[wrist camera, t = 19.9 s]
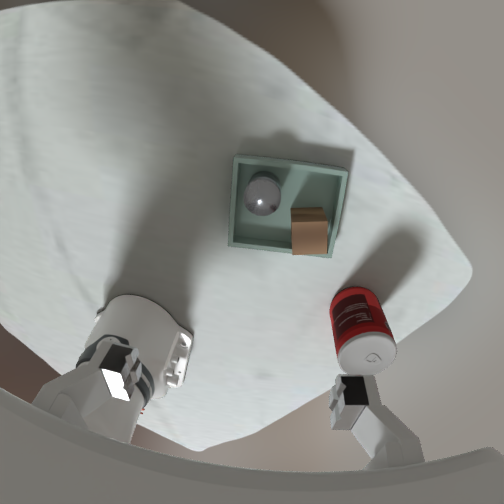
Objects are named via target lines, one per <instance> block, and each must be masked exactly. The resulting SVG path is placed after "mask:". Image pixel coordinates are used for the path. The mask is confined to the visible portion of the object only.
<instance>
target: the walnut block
mask: <svg viewBox="0 0 504 504" xmlns="http://www.w3.org/2000/svg"><path fill="white" fill-rule="evenodd" d="M290 211H291V240H292V255H310V254H327V237H328V221H327V218H326V215H325V213H324V210H323V208H322V207H306V208H290Z"/></svg>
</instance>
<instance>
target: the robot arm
mask: <svg viewBox="0 0 504 504" xmlns="http://www.w3.org/2000/svg"><path fill="white" fill-rule="evenodd" d="M94 321H95V324H96V325H95V327H94V328H93V330H92V332H91V334H90V336H89V338H88V340H87V341H86V343H85V351H84V352H83V353H82V354H81V356H80V357H79V360H78V362H77V364H76V369H74V370H72V371H70V372H68V373H66V374H64V375H62V376H60V377H58V378H56V379H54V380H52V381H50V382H48V383H46V384H44V385H43V387H42V389H41V390H40V392H39V393H38V395H37V396H36V398H35V399H34V401H33V403H32V404H29V403H27V402H25V401H23V400H22V399H20V398H18V397H16V396H14V395H13V394H11V393H9V392H7V391H5V390H4V389H2V388H0V504H504V455H502V454H501V453H500V452H499V451H497V450H496V449H494V448H493V447H486V448H481V449H478V450H474V451H471V452H468V453H464V454H460V455H456V456H451V457H447V458H443V459H438V460H433V461H428V462H425V460H424V456H423V452H422V448H421V444H420V440H419V438H418V437H417V436H416V435H415V434H414V433H413V432H412V431H411V430H410V429H408V427H407V426H406V425H405V424H404V423H403V422H402V421H401V420H400V419H399V418H398V417H396V416H395V415H394V414H393V413H392V412H391V411H390V410H389V409H388V408H387V407H386V406H385V405H382V404H381V400H380V396H379V392H378V388H377V384H376V380H375V377H374V375H349V374H338V376H337V377H336V379H335V383H336V385H334V386H333V387H332V389H331V391H330V396H329V408H330V409H331V410H332V411H333V412H332V414H331V416H330V420H331V429H333V430H351V432H352V433H353V435H354V436H355V437H356V439H357V440H358V442H359V443H360V444H361V446H362V447H363V448H364V450H365V451H366V452H367V454H368V455H369V456H370V458H371V459H372V460H371V461H370V462H369V463H368V464H367V465H366V467H364V468H363V470H359V471H341V472H340V471H339V472H293V471H274V470H261V469H250V468H242V467H234V466H226V465H220V464H213V463H207V462H201V461H196V460H191V459H186V458H181V457H177V456H172V455H168V454H164V453H160V452H156V451H152V450H148V449H145V448H141V447H138V446H134V445H131V444H130V442H131V438H132V435H133V432H134V429H135V426H136V423H137V420H138V418H139V415H140V414H143V413H142V412H141V410H145V409H144V407H145V406H146V405H147V403H149V402H150V400H151V399H160V398H163V397H165V396H166V394H167V392H168V389H169V388H177V387H181V386H182V384H183V382H184V378H185V373H186V368H187V364H188V359H189V355H190V350H191V346H192V341H193V336H192V335H191V334H190V333H189V332H188V331H187V330H185V329H184V328H182V327H180V326H179V325H178V324H177V323H176V322H175V321H174V319H173V318H172V317H171V316H170V315H169V314H168V313H167V312H166V311H165V310H164V309H163V308H162V307H160V306H159V305H157V304H156V303H154V302H152V301H150V300H148V299H146V298H143V297H140V296H135V295H122V296H118V297H116V298H114V299H113V300H111V301H110V302H109V304H108V305H107V307H106V309H105V310H104V311H102V312H100V313H98V314H97V315H96V317H95V319H94Z"/></svg>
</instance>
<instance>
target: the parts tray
mask: <svg viewBox="0 0 504 504" xmlns="http://www.w3.org/2000/svg"><path fill="white" fill-rule="evenodd" d="M260 171H268V172H271V173H273V174H275V175H276V176H277V177H278V179H279V180H280V183H281V202H280V205H279V207H278V209H277V210H276V211H275V212H274V213H272V214H270V215H267V216H258V215H255V214H253V213H251V212H250V211H249V210H248V209H247V208H246V206H245V204H244V200H243V195H244V192H245V189H246V187H247V185H248V183H249V180H250V178H251V177H252V176H253V175H254V174H256V173H257V172H260ZM347 177H348V171H347V170H346V169H345V168H342V167H336V166H330V165H323V164H316V163H309V162H302V161H294V160H286V159H278V158H269V157H260V156H250V155H238V154H236V155H235V156H234V158H233V171H232V186H231V201H230V216H229V233H228V246H231V247H239V248H248V249H256V250H265V251H273V252H282V253H291V254H292V240H291V211H290V208H306V207H322V208H323V210H324V213H325V215H326V218H327V221H328V237H327V254H310V255H307V256H316V257H324V258H332V253H333V249H334V244H335V239H336V235H337V230H338V225H339V220H340V215H341V210H342V205H343V199H344V194H345V188H346V183H347Z"/></svg>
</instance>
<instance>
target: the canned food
mask: <svg viewBox="0 0 504 504" xmlns="http://www.w3.org/2000/svg"><path fill="white" fill-rule="evenodd" d="M330 319H331V324H332V330H333V336H334V342H335V348H336V354H337V359H338V363H339V366H340V368H341V369H342V370H343V371H344V372H345V373H346V374H349V375H375V374H378V373H380V372H382V371H383V370H385V369H386V368H388V367H389V366H390V365H391V364H392V362H393V361H394V359H395V357H396V354H397V348H396V343H395V340H394V338H393V335H392V332H391V330H390V327H389V325H388V322H387V320H386V317H385V315H384V312H383V310H382V308H381V305H380V303H379V301H378V298H377V297H376V296H375V295H374V294H373V293H372V292H371V291H370V290H368V289H366V288H363V287H350V288H347V289H344V290H342V291H341V292H339V293H338V294H337V295H336V296H335V297H334V299H333V300H332V302H331V306H330Z"/></svg>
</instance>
